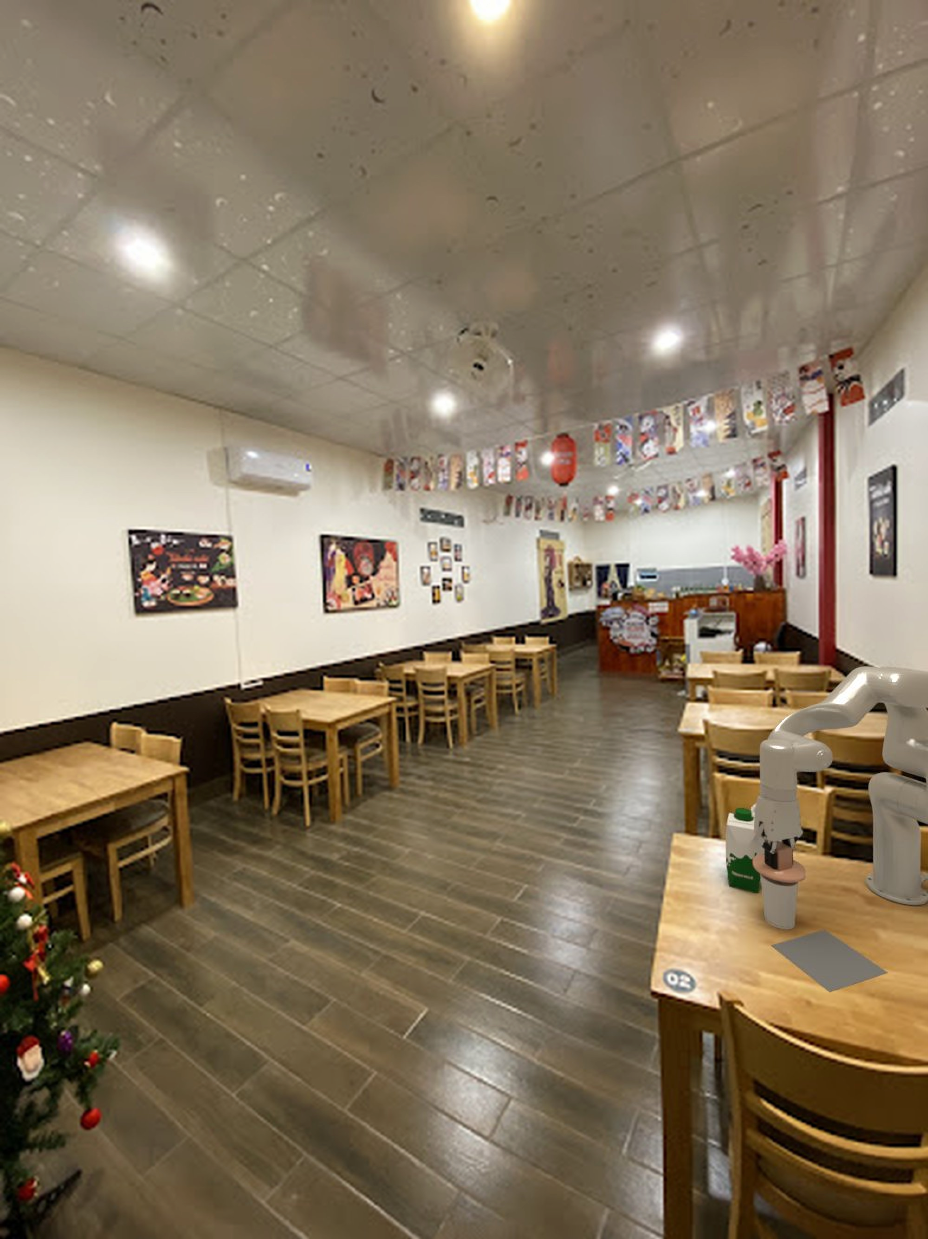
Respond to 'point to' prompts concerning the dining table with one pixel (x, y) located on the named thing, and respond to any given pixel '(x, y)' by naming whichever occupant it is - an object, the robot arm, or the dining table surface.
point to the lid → (781, 865)
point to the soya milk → (742, 851)
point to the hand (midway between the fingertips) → (778, 863)
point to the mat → (828, 960)
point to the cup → (779, 902)
